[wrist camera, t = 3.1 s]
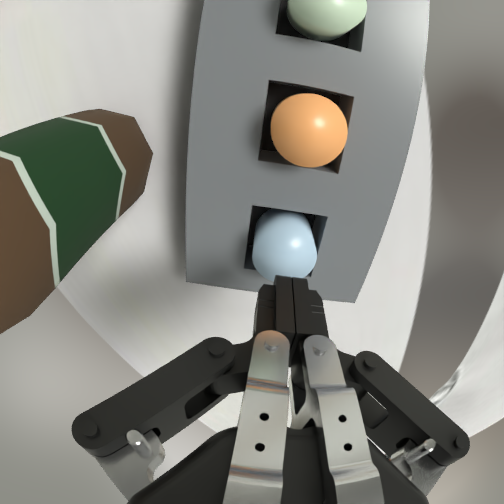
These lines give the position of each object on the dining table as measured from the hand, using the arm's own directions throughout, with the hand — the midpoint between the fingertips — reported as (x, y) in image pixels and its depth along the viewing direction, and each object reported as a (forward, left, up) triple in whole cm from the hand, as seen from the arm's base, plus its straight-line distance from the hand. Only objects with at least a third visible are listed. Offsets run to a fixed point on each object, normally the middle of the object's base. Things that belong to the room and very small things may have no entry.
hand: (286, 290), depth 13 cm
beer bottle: (-4, -13, -7) cm, 15 cm away
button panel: (-7, 0, -7) cm, 10 cm away
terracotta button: (-7, 0, -6) cm, 9 cm away
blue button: (0, 0, -6) cm, 6 cm away
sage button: (-14, 0, -6) cm, 15 cm away
